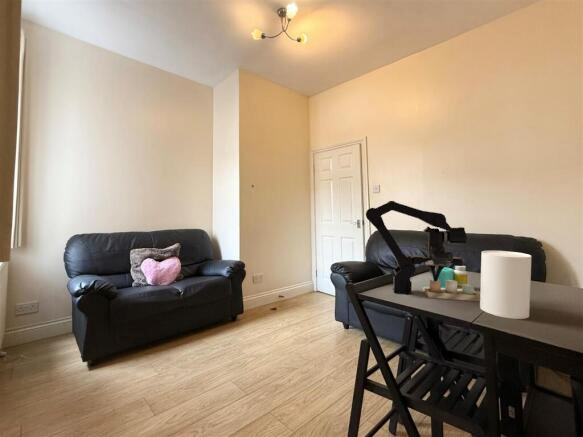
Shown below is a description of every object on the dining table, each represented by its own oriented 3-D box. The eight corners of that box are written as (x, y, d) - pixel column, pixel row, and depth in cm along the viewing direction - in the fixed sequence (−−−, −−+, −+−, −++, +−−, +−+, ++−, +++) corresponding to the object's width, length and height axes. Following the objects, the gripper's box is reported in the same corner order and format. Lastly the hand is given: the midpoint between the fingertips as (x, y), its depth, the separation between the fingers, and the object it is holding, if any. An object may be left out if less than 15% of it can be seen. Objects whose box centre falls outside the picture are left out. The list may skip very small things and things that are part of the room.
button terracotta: (431, 291, 113) (431, 282, 113) (428, 288, 117) (428, 279, 117) (441, 292, 112) (442, 282, 112) (439, 289, 116) (439, 280, 116)
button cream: (447, 292, 111) (447, 282, 111) (444, 289, 115) (444, 279, 115) (458, 292, 110) (458, 282, 110) (455, 289, 114) (455, 280, 114)
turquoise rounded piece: (431, 286, 125) (432, 269, 125) (433, 282, 132) (433, 266, 132) (452, 289, 121) (452, 271, 121) (452, 285, 128) (453, 267, 127)
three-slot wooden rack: (428, 297, 110) (428, 293, 110) (423, 290, 120) (423, 286, 120) (482, 301, 106) (483, 297, 106) (472, 293, 115) (473, 289, 115)
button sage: (464, 296, 110) (464, 286, 110) (460, 293, 114) (460, 283, 114) (475, 297, 109) (475, 287, 109) (471, 294, 113) (471, 284, 113)
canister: (503, 303, 104) (504, 250, 103) (540, 317, 90) (542, 256, 89) (470, 305, 102) (472, 251, 101) (503, 320, 88) (506, 257, 88)
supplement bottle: (469, 289, 120) (469, 267, 120) (455, 289, 122) (455, 266, 121) (463, 286, 126) (464, 264, 125) (450, 285, 127) (451, 264, 126)
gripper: (415, 245, 108) (414, 284, 109) (469, 247, 103) (467, 288, 104) (410, 241, 119) (409, 277, 119) (459, 243, 114) (458, 280, 115)
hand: (435, 281), depth 114 cm, fingers closed, pressing on button terracotta
